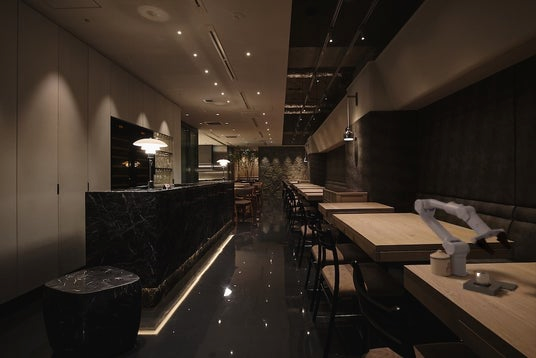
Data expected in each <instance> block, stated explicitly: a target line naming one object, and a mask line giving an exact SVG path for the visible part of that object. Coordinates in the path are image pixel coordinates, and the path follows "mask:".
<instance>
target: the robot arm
mask: <svg viewBox="0 0 536 358" xmlns="http://www.w3.org/2000/svg"><path fill="white" fill-rule="evenodd" d="M436 209H440V210H444V211H445V213H446V214H450V215H453V216H456V217H457V218H458V219H460V220H463V222H465V223H466V224H467V225H468V226H469V227H470V229H472V231H473V232H474V233H475V234H476V235H475V236H472V237H471V238H470V241H471V243H472V244H475V246H476V247H477V248H480V249H482V250H484V251H485V252H487V253H488V254H489V255H491V256H494V255H495V254H496V251H495V250H494V249H493V248H492V247H491V246H490V245H489V243H488V241H487V240H488V239H492V238H494V237H496V241H498V242H499V243H501V245H502V246H504V247H505V249H506V250H507V251H511V250H512V249H513V246H512V245H511V244H510V241H509V240H508V236H507V233H506V231H505V230H504V228H500V229H492V228H490V227H489V226H488V225H487V223H485V222H484V221H483V220H482V219H481V217H479V215H478V214H477V211H476V209H475V207H473V206H472V205H467V206H466V205H464V204H462V203H459V204H458V203H456V202H455V201H450V202H443V201H440V200H437V199H433V198H429V199H416V200H415V202H414V210H415V211H416V212H417V213H418V214H419V217H420V218H421V220H422V222H424V224H426V226H427V227H428V228H429V229H430V230H431V231H432V232H433V233H434V234H435V235H436V236H437V237H438V238H439V239H440V241H442V247H443V249H444V250H445V251H444V252H445V254H448V255H450V257H451V258H450V262H451V275H455V276H458V277H466V276H467V275H469V274H470V272H469V271H467V256H468V254H469V253H470V249H471V248H470V245H469V243H467V242H466V241H463V240H462V239H461V238H460V237H456V236H453V235H452V233H451V232H450V231H449V230H447V228H446V227H445V226H444V225H442V223H440V221H438V220H437V219H436V217H434V216H435V212H436Z"/></svg>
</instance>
